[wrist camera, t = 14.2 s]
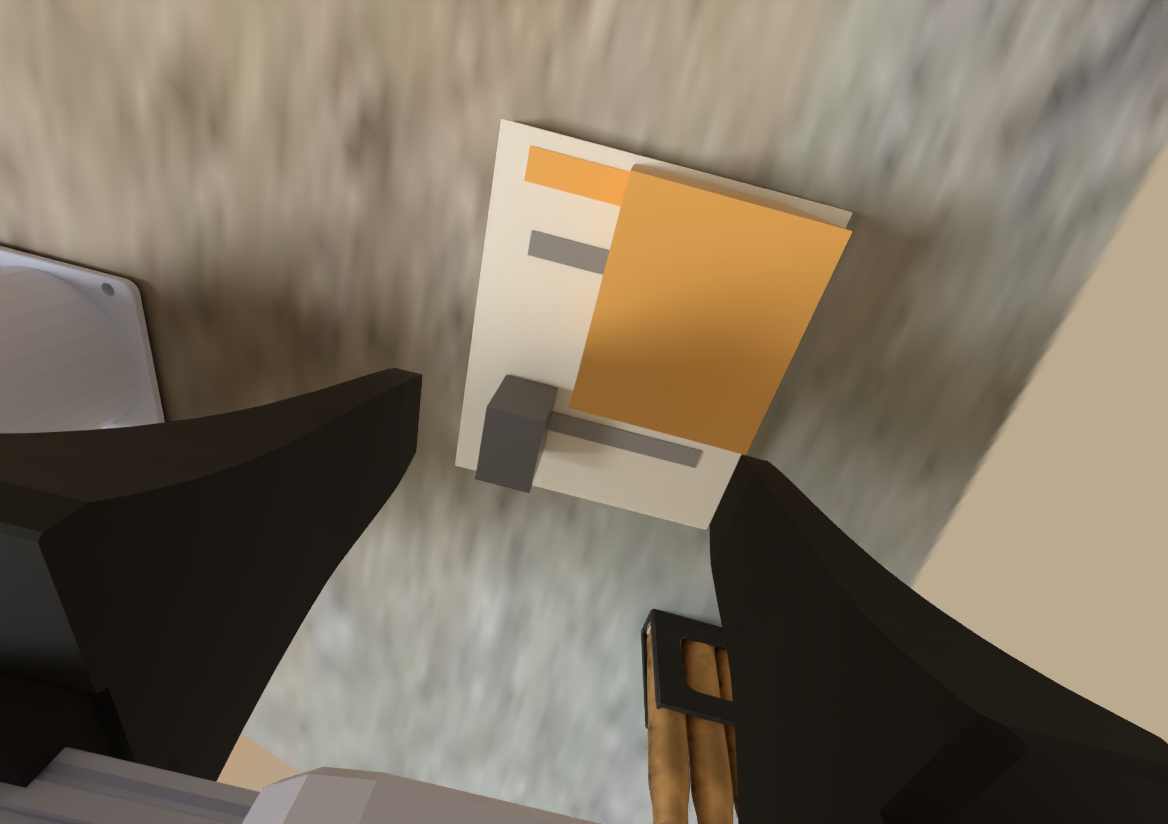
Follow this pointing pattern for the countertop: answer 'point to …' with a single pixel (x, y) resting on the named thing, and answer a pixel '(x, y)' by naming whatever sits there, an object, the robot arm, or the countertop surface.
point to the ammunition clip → (688, 720)
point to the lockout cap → (701, 308)
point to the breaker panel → (578, 323)
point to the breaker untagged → (515, 433)
